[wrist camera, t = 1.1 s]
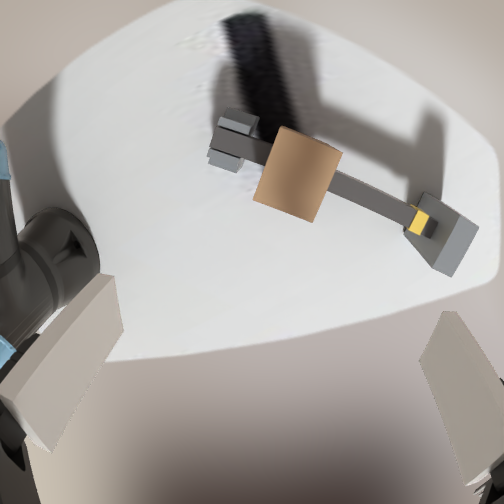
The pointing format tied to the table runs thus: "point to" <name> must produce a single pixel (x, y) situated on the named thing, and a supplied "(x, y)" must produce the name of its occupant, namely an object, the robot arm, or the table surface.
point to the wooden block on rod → (297, 174)
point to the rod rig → (357, 195)
